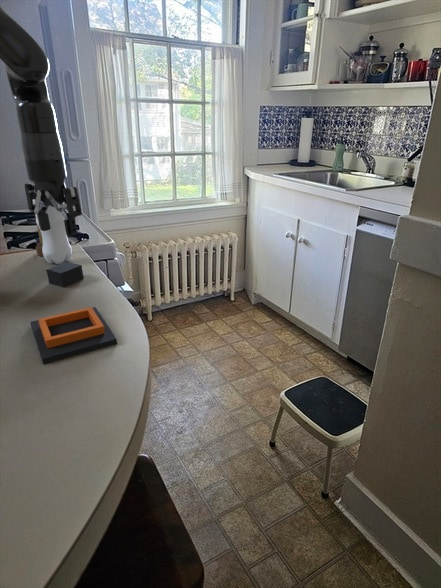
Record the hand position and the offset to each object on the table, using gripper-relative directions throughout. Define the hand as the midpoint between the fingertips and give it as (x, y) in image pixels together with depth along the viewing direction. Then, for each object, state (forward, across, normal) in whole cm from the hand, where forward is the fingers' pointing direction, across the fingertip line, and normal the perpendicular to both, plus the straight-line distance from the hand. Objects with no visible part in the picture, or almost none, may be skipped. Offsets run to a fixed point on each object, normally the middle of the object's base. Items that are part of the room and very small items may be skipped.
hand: (58, 232), depth 87 cm
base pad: (+12, +20, -16) cm, 29 cm away
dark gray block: (+12, 0, 0) cm, 12 cm away
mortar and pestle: (+12, -20, +11) cm, 26 cm away
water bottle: (+12, -13, +8) cm, 19 cm away
